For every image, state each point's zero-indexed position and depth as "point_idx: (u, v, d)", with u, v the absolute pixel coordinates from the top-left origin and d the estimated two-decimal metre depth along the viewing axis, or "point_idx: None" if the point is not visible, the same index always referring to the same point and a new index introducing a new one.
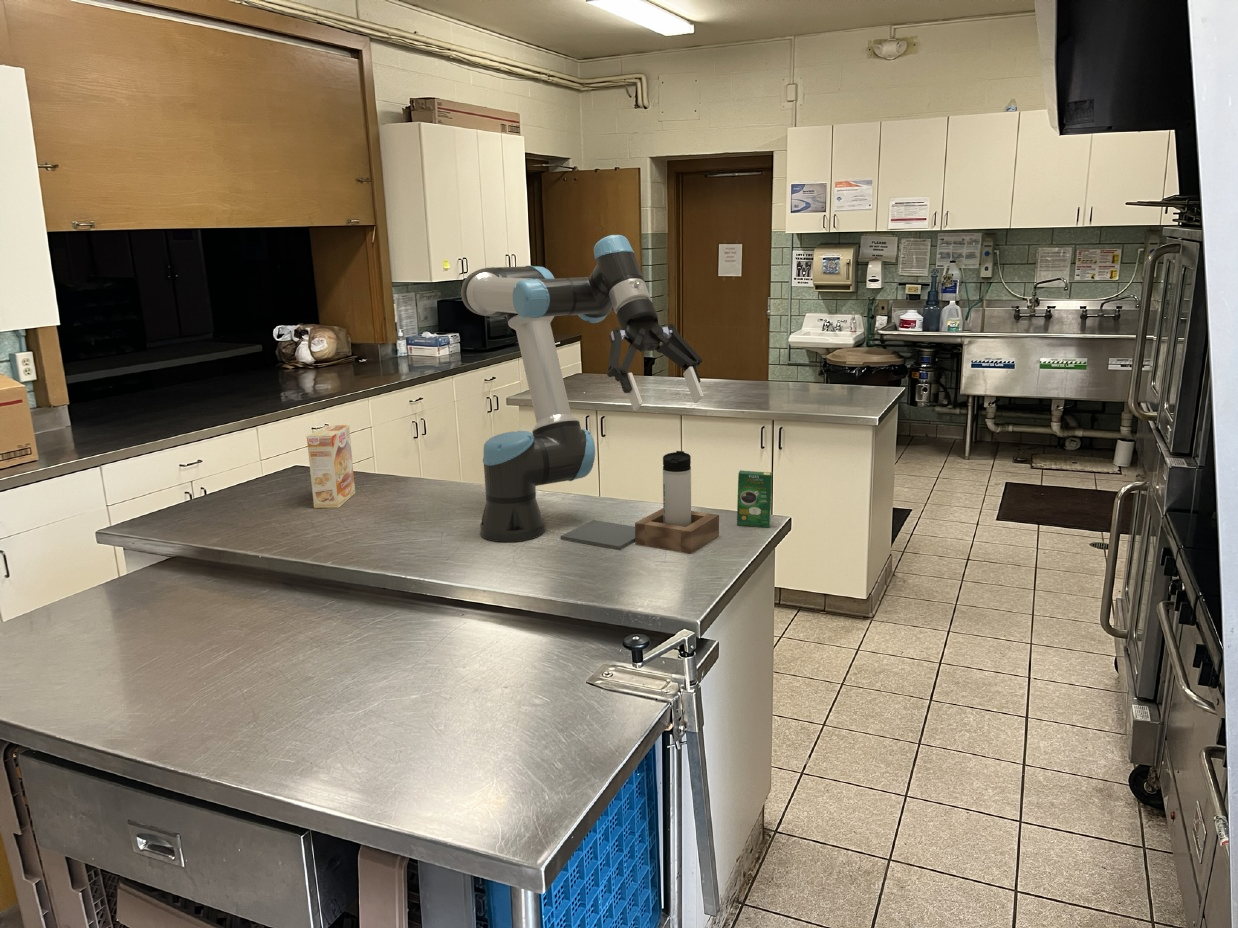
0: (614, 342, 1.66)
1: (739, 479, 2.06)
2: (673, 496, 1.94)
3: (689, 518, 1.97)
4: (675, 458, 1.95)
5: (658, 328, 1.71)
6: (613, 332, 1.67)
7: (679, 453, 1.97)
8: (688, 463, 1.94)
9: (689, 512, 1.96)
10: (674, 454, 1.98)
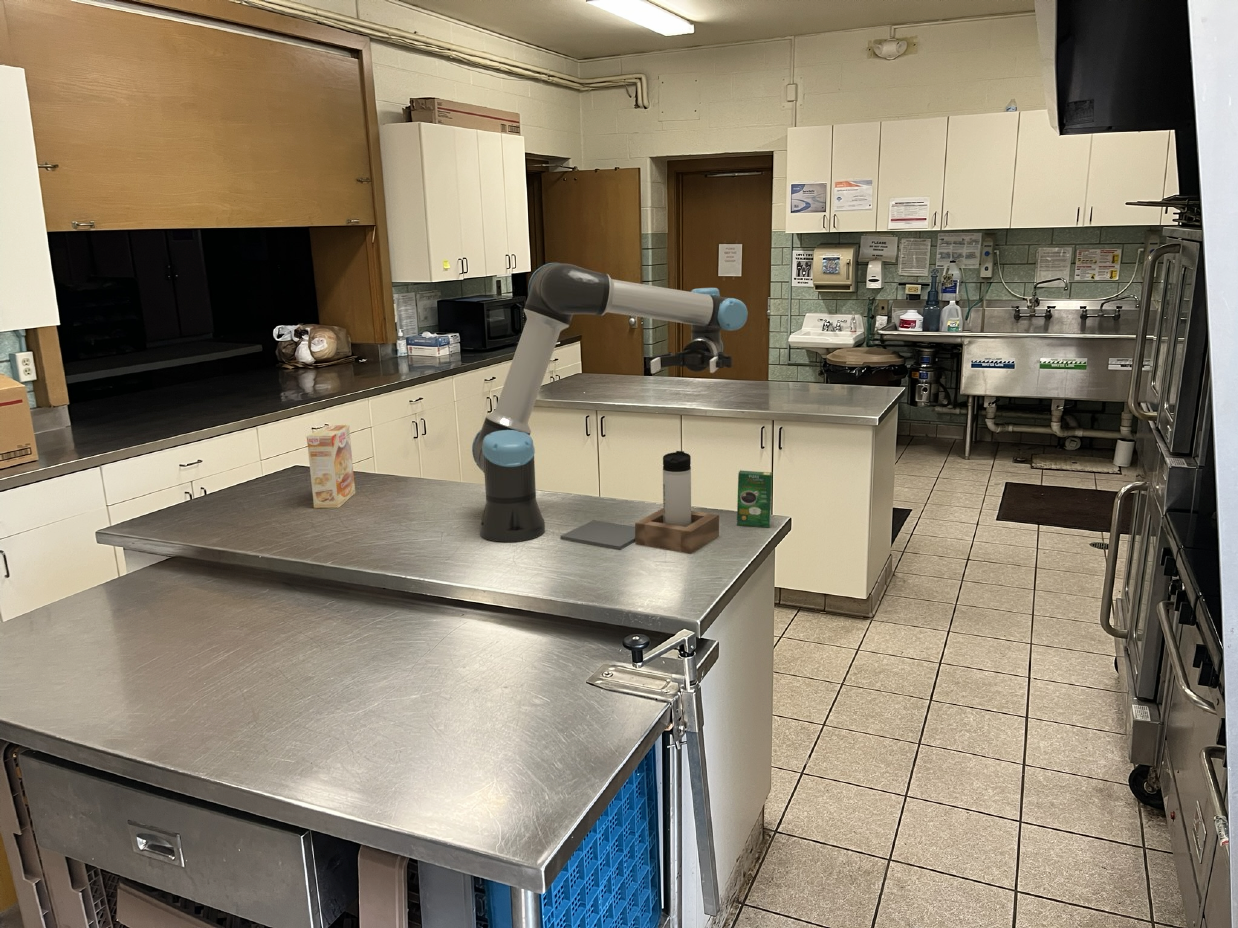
0: None
1: (739, 479, 2.06)
2: (673, 496, 1.94)
3: (689, 518, 1.97)
4: (675, 458, 1.95)
5: None
6: None
7: (679, 453, 1.97)
8: (688, 463, 1.94)
9: (689, 512, 1.96)
10: (674, 454, 1.98)
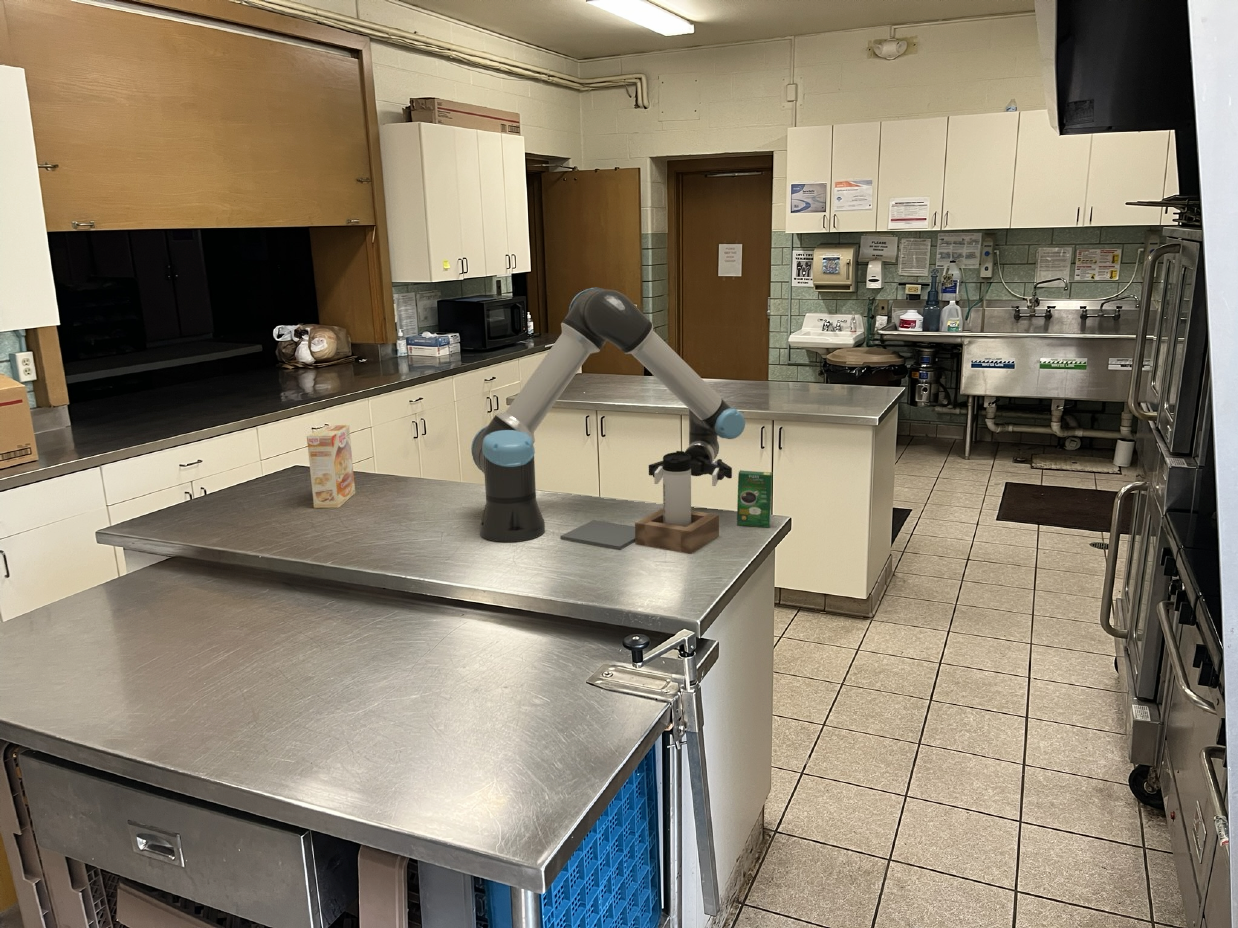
0: None
1: (739, 479, 2.06)
2: (673, 496, 1.94)
3: (689, 518, 1.97)
4: (675, 458, 1.95)
5: None
6: None
7: (679, 453, 1.97)
8: (688, 463, 1.94)
9: (689, 512, 1.96)
10: (674, 454, 1.98)
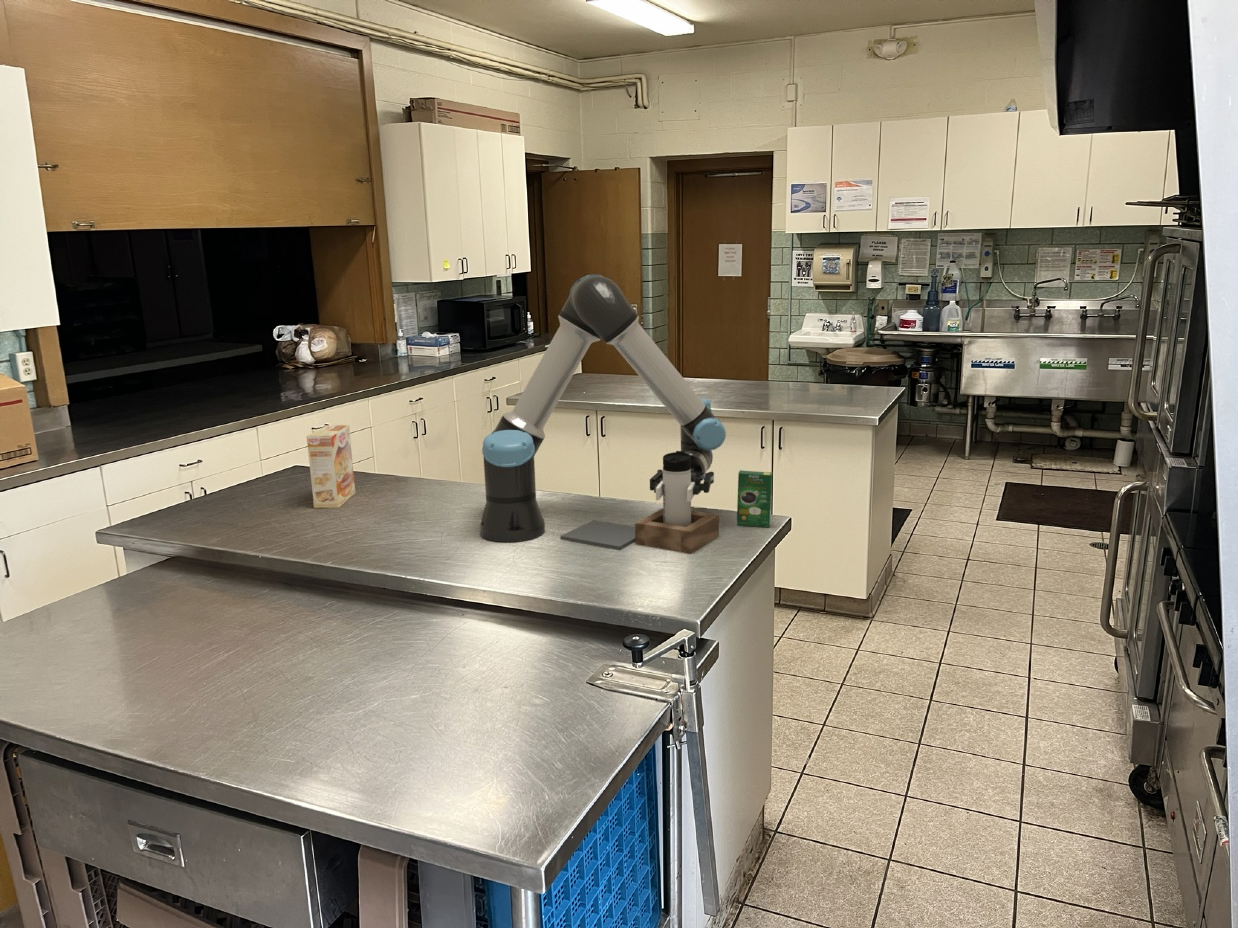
0: (710, 482, 2.04)
1: (739, 479, 2.06)
2: (673, 496, 1.94)
3: (689, 518, 1.97)
4: (675, 458, 1.95)
5: None
6: (713, 480, 2.06)
7: (679, 453, 1.97)
8: (688, 463, 1.94)
9: (689, 512, 1.96)
10: (674, 454, 1.98)
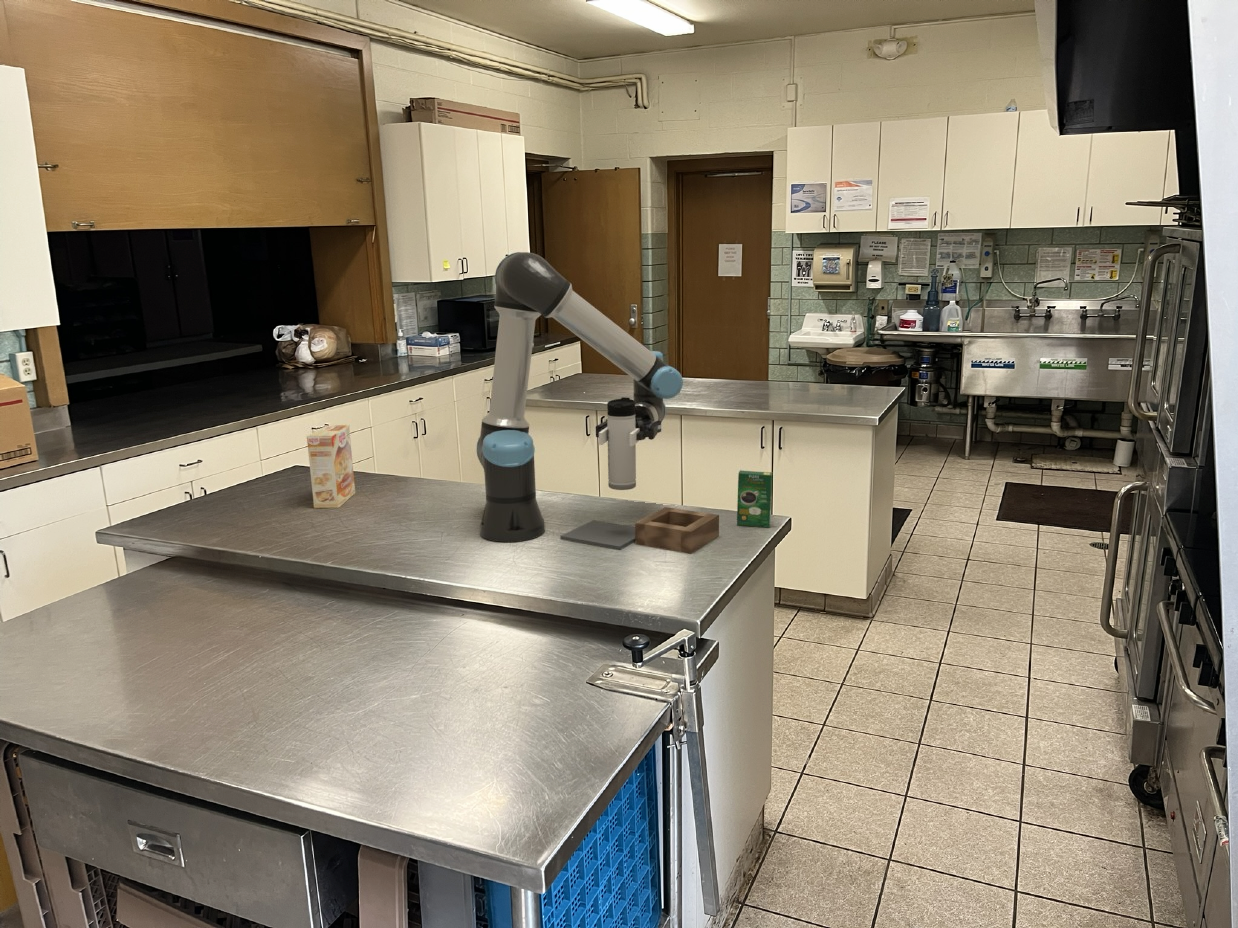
0: (657, 431, 2.04)
1: (739, 479, 2.06)
2: (617, 441, 1.95)
3: (633, 464, 1.97)
4: (619, 404, 1.96)
5: None
6: (660, 429, 2.06)
7: (624, 399, 1.98)
8: (632, 408, 1.94)
9: (633, 458, 1.97)
10: (619, 400, 1.98)
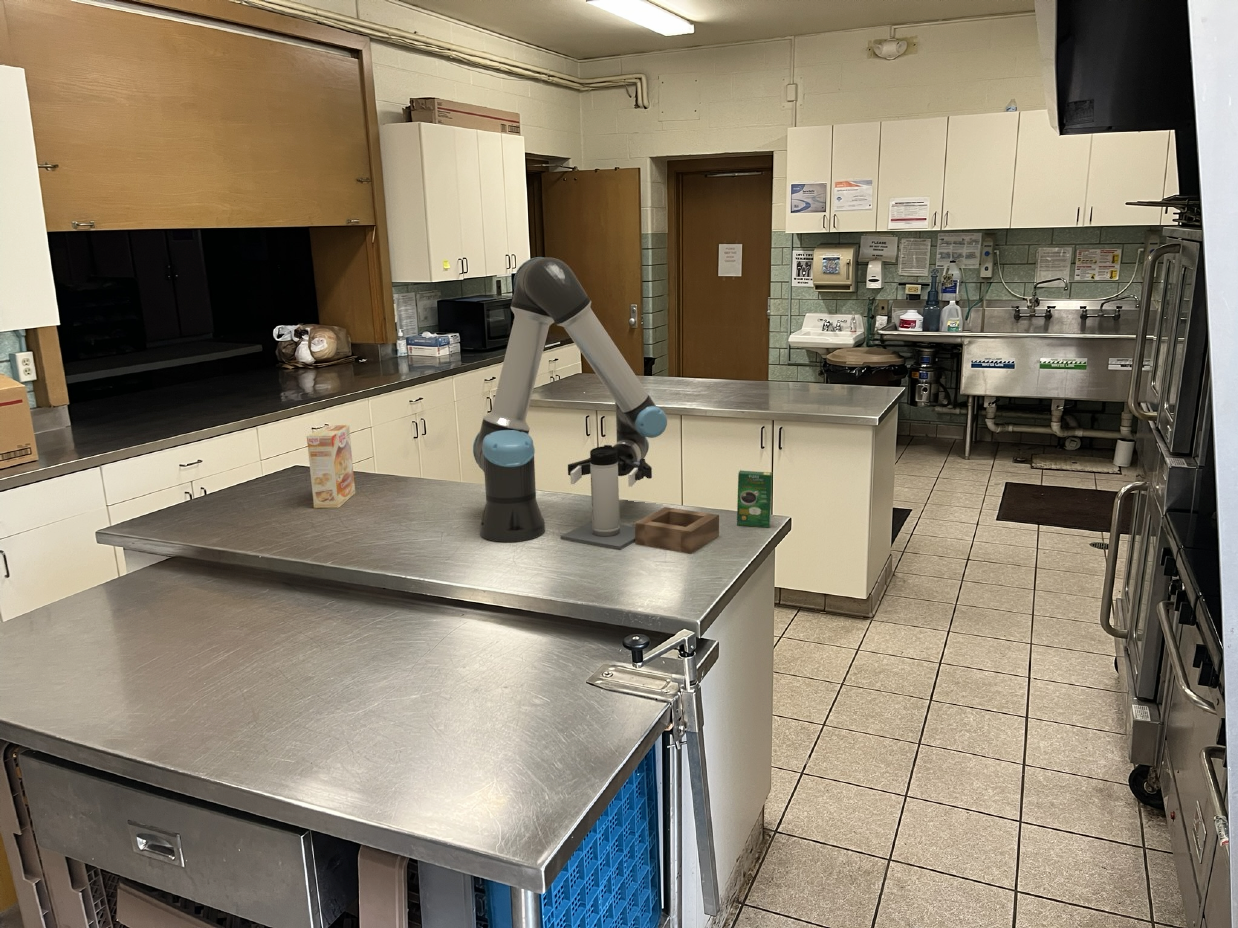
0: None
1: (739, 479, 2.06)
2: (600, 489, 1.98)
3: (617, 511, 2.01)
4: (602, 452, 1.99)
5: None
6: None
7: (607, 447, 2.01)
8: (614, 457, 1.97)
9: (616, 505, 2.00)
10: (602, 448, 2.01)
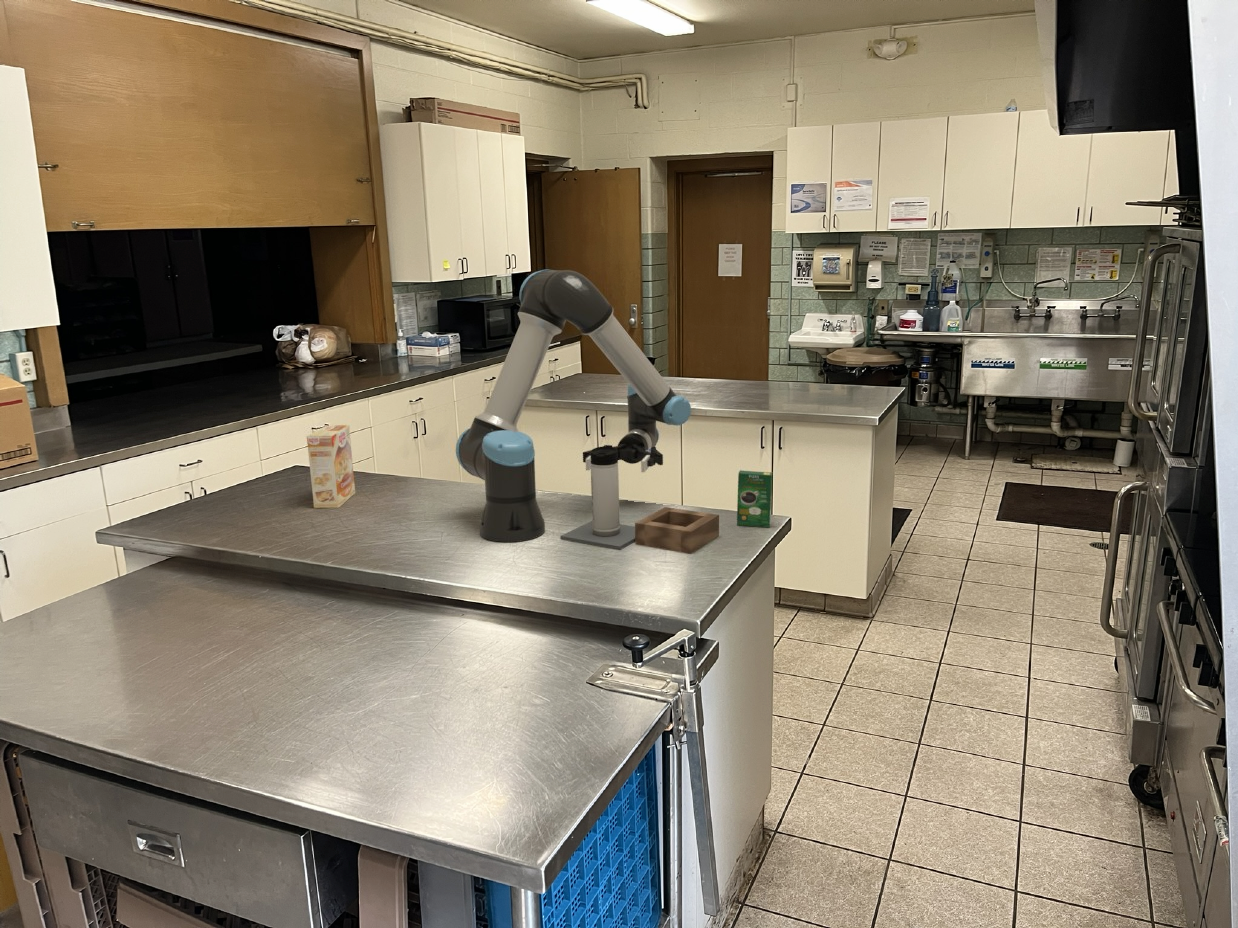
0: None
1: (739, 479, 2.06)
2: (600, 489, 1.98)
3: (617, 511, 2.01)
4: (602, 452, 1.99)
5: None
6: None
7: (607, 447, 2.01)
8: (614, 457, 1.97)
9: (616, 505, 2.00)
10: (602, 448, 2.02)
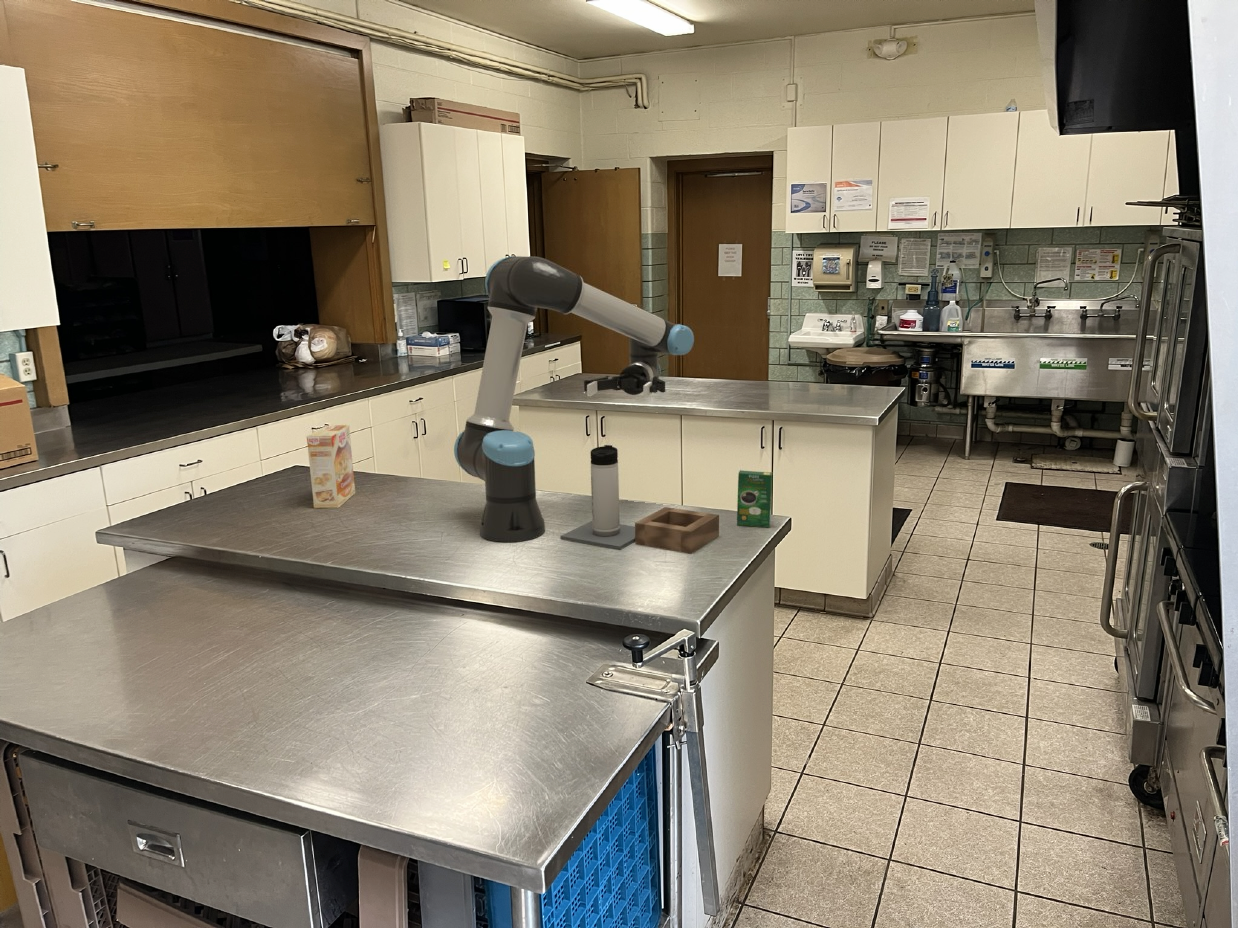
0: None
1: (739, 479, 2.06)
2: (600, 489, 1.98)
3: (617, 511, 2.01)
4: (602, 452, 1.99)
5: None
6: None
7: (607, 447, 2.01)
8: (615, 457, 1.97)
9: (617, 505, 2.00)
10: (602, 448, 2.02)
